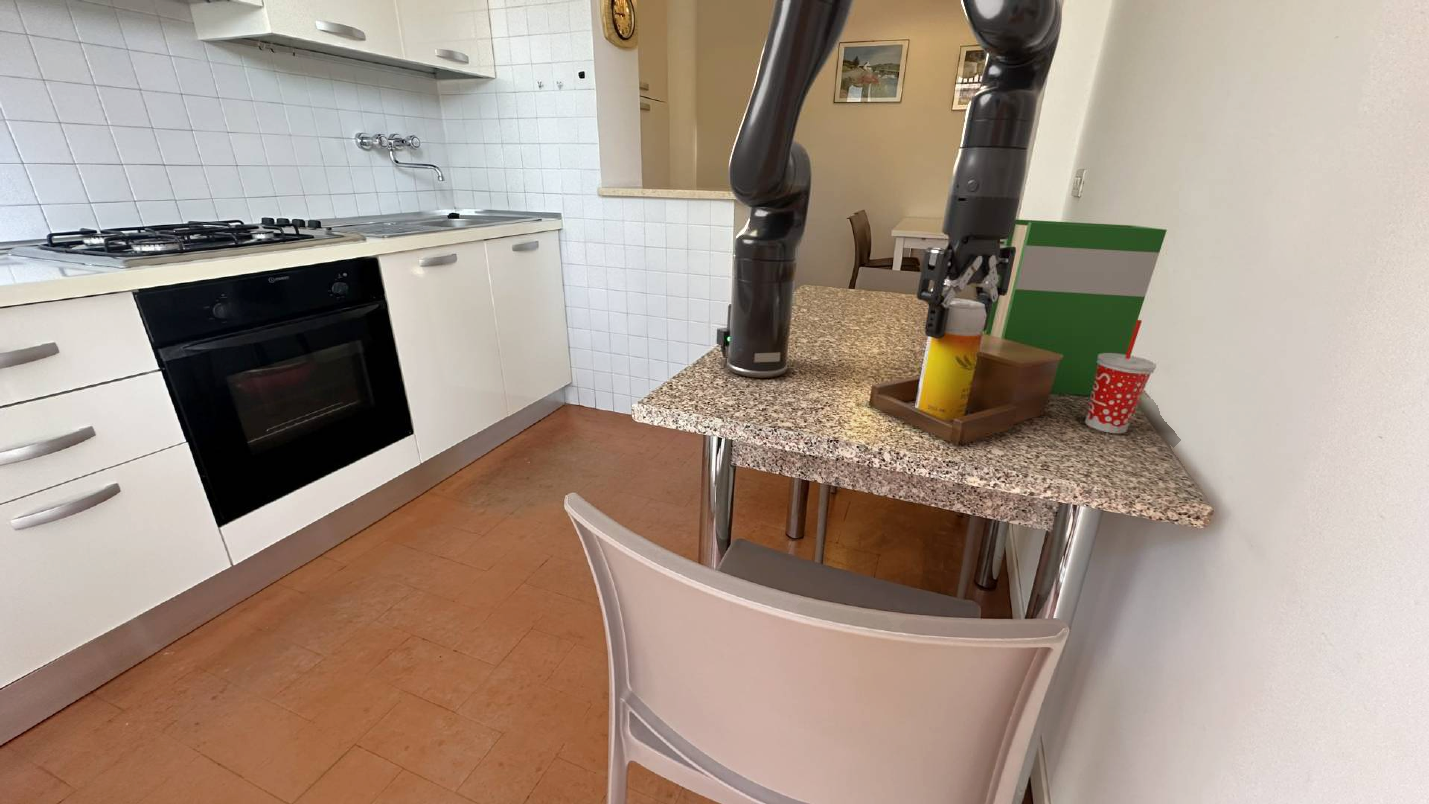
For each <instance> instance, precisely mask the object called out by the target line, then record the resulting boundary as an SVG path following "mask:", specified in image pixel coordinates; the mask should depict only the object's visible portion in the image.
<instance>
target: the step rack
mask: <svg viewBox="0 0 1429 804" xmlns="http://www.w3.org/2000/svg"><path fill="white" fill-rule="evenodd" d="M1062 358H1063V355H1062V354H1058V353H1054V352H1051V351H1047V350H1043V349H1039V348H1036V347H1032V346H1028V345H1025V344H1021V343H1017V342H1013V341H1010V340H1006V339H1002V338H999V337H995V336H991V335H987V334H984V332H983V334H982V339H981V343H980V347H979V352H978V356H977V361H976V365H975V370H974V374H973V379H972V383H971V387H970V392H969V396H968V401H967V405H966V410H965V411H966V412H969V413H970V414H966V415H964V416H963V417H959V418H955V419H954V421H953V423H951V422H948V421H946V420H944V419H941V418H939V417H937V416H934V415H932V414H930V413H927V412H925V411H923V410H920V409H918V408H916V407H915V406H913V405H911V404H908V403H905V402H907V401H912V400H916V398H917V393H918V387H919V382H920V377H921V374H919V375H914V376H908V377H903V378H898V379H894V380H889V381H884V382H879V383H878V382H877V383H874V384H871V389H870V395H869V401H868V406H870V407H872V408H874V409H876V410H879V411H881V412H882V413H885V414H887V415H889V416H892V417H894V418H896V419H898V420H899V421H903V422H905V423H907V424H910V425H911V426H914V427H915V428H917V429H920V430H922V431H925V432H926V433H928V434H931V435H933V436H935V437H937V438H939V439H942V440H943V441H947V442H948V443H951V444H953V445H954V446H957V447H959V446H961V445H965V444H968V443H971V442H975V441H977V440H981V439H985V438H988V437H990V436H993V435H997V434H1000V433H1003V432H1007V431H1010V430H1013V428H1014V424H1015V423H1019V422H1023V421H1026V420H1029V419H1032V418H1036V417H1039V416H1043V415H1045V414H1046V410H1047V406H1048V403H1049V399H1050V396H1051V393H1050V392H1051V389H1052V385H1053V382H1054V378H1055V375H1056V371H1057V367H1058V364H1059V360H1060V359H1062Z"/></svg>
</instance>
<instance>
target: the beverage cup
mask: <svg viewBox="0 0 1429 804" xmlns="http://www.w3.org/2000/svg"><path fill="white" fill-rule="evenodd" d="M1142 321H1143V320H1142V319H1138V320H1137V323H1136V326H1135V329H1134V332H1133V335H1132V338H1131V341H1130V344H1129V347H1128V350H1127V354H1126V355H1124V354H1115V353H1102V354H1099V355H1098V360H1097V363H1098V368H1097V372H1096V377H1095V381H1094V385H1093V390H1092V394H1091V395H1090V399H1089V403H1088V407H1087V412H1086V416H1085V419H1084V423H1085V425H1087V426H1088V427H1089V428H1092V429H1094V430H1097V431H1101V432H1105V433H1110V434H1124V433H1126V432H1127V431H1128V427H1129V426H1130V423H1131V421H1132V418H1133V416H1134V415H1135V411H1136V409H1137V407H1138V405H1139V402H1140V399H1141V398H1142V395H1143V393H1144V390H1145V388H1146V386H1147V384H1148V381H1149V379H1150V376H1151V374H1154V373H1155V370H1156V369H1157V363H1155V362H1154V361H1151V360H1149V359H1145V358H1144V357H1143V358H1142V357H1138V356H1134V355H1132V352H1133V350H1134V346H1135V343H1136V340H1137V337H1138V334H1139V331H1140V328H1141V325H1142Z"/></svg>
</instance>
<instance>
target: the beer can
mask: <svg viewBox="0 0 1429 804" xmlns="http://www.w3.org/2000/svg"><path fill="white" fill-rule="evenodd" d="M947 308H949V313H948V318H947V324H946V329H945V334H944V337H943V338H938V339H936V338H933V337H929V336H927V339H926V345H925V350H924V355H923V362H922V366H921V372H920V375H921V377H920V382H919V387H918V393H917V398H916V399H915V404H914V407H916V408H918V409H920V410H923V411H925V412H927V413H930V414H932V415H934V416H937V417H939V418H941V419H944V420H946V421H948V422H951V423H953V421H954V419H955V418H959V417H963V416H965V413H966V411H967V410H966V405H967V401H968V396H969V392H970V387H971V383H972V379H973V374H974V370H975V365H976V361H977V356H978V352H979V347H980V343H981V339H982V334H983V333H984V331H983V330H984V325H985V321H986V316H987V315H986V311H985V305H984V304H982V303H980V302H976V301H973V300H970V299H965V298H955V297H954V298H953V300H952V301H951V303H950V304H949V306H948V307H947Z"/></svg>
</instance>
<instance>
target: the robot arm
mask: <svg viewBox="0 0 1429 804" xmlns="http://www.w3.org/2000/svg"><path fill="white" fill-rule="evenodd" d="M854 2H855V0H774V2H773V3H774V4H773V10H772V14H771V17H770V22H769V27H768V31H767V35H766V37H765V42H764V46H763V49H762V53H761V56H760V61H759V66H758V69H757V74H756V78H755V82H754V86H753V89H752V92H751V95H750V98H749V102H748V103H747V107H746V110H745V113H744V116H743V119H742V122H741V124H740V127H739V129H738V130H739V131H738V133H737V136H736V139H735V142H734V145H733V148H732V152H731V155H730V159H729V164H728V183H729V187H730V190H731V193H732V195H733V196H734V198H735V199H736V200H737V201H738V203H740V204H742V205H743V206H745V207H748V208H750V211H749V217H748V220H747V223H746V224H745V226H744V228H743V229H742V230H741V231H740V232H739V233H737V235H736V236H735V239H734V246H733V262H732V281H731V283H732V284H731V299H730V303H729V304H728V306H727V317H726V318H727V320H726V321H727V322H726V327H719V328H716V340H715V341H716V342H715V343H716V344H717V345H718V346H720V350H721V354H722V358H723V359H724V363H725V364H726V368H727V370H729V371H730V372H732V373H734V374H736V375H739V376H743V377H749V378H755V379H757V378H758V379H764V378H765V379H767V378H777V377H780V376H783V375H785V374H786V373H787V371H788V356H789V347H790V335H791V325H792V315H793V314H792V313H793V305H794V295H795V286H796V285H795V283H796V273H797V263H798V252H799V247H800V245H801V243H802V241H803V238H804V235H805V233H806V227H807V220H808V213H809V207H810V198H811V190H812V179H813V177H812V176H813V170H812V162H811V158H810V155H809V153H808V151H807V150H806V148H805V146H803V145H802V144H801V143H800V142H798V141H796V140H795V136H796V131H797V127H798V124H799V119H800V116H801V113H802V110H803V106H804V104H805V102H806V99H807V97H808V95H809V92H810V91H811V89H812V87H813V85H814V84H815V82H816V81H817V78H818V77H819V76H820V74H821V73H822V71H823V69H824V67H825V66H826V64H827V63H828V62H829V60H830V58H831V57H832V55H833V54H834V52H835V50H836V49H837V47H838V45H839V43H840V41H841V39H842V38H843V35H844V32H845V30H846V28H847V25H848V22H849V19H850V15H851V12H852V9H853V7H854ZM960 2H961V6H962V9H963V11H964V15H965V17H966V20H967V23H968V25H969V28H970V30H971V32H972V34H973V37H974V38H975V40H976V42H977V43H978V45H979V47H980V48H981V49H982V50H983V51H984V52H985V53H986V57H985V63H984V67H983V72H982V76H981V80H980V84H979V88H978V91H976V92H975V93H974V94H973V95H972V96H971V97H970V98H969V101H968V104H967V106H966V110H965V114H964V119H963V125H962V131H961V135H960V140H959V148H958V152H957V155H956V158H955V162H954V165H953V168H952V173H951V177H950V182H949V189H948V194H947V199H946V205H945V210H944V215H943V222H942V227H941V232H942V233H943V234H944V235H946V236H947V237H948V240H947V243H946V245H945V246H944V248H943V247H934V246H928V247H927V248H926V249H925V252H924V257H923V262H922V267H921V273H920V277H919V283H918V288H917V292H916V299H918V300H920V301H923V302H926V304H928V308H927V309H928V310H927V313H926V319H925V325H924V332H925V335H926V336H927V337H928V336H929V337H933V338H936V339H938V338H943V337H944V334H945V329H946V324H947V318H948V313H949V308H947V307H948V306H949V304H950V303H951V301H952V300H953V298H955V296H956V295H957V294H958V293H961V292H963V290H964V289H965V287H966V286H970V287H971V289H972V292H973V296H974V298H975V299H973V300H972V301H976V302H980V303H982V304H984V305H985V311H986V315H987V316H986V321H985V325H984V330H983V332H984V331H985V330H986V329H987V326H988V322H989V317H990V313H991V309H992V304H993V302H995V301H996V300H997V298H998V296H1000V295H1002V296H1005V295H1006V294H1007V291H1008V287H1009V282H1010V277H1011V273H1012V268H1013V263H1014V258H1015V253H1016V248H1015V247H1012V246H1004V244H1001V240H1005V239H1007V238H1009V237H1011V235H1012V232H1013V228H1014V223H1015V219H1016V218H1017V213H1018V210H1019V205H1020V200H1021V197H1022V192H1023V187H1024V184H1025V183H1024V182H1025V179H1026V173H1027V162H1028V155H1029V148H1030V144H1031V141H1032V135H1033V131H1034V127H1035V122H1036V116H1037V111H1038V110H1037V109H1038V103H1039V100H1040V98H1041V94H1042V92H1043V89H1044V86H1045V84H1046V81H1047V78H1048V75H1049V72H1050V70H1051V66H1052V63H1053V60H1054V58H1055V54H1056V51H1057V48H1058V44H1059V39H1060V35H1061V29H1062V21H1063V13H1062V12H1063V11H1062V7H1061V3H1060V1H1059V0H960ZM998 275H1000V276H1001V282H1000V285H997V283H998V282H999V279H998ZM931 281H932V282H933V285H932V287H931V290H929V287H930V284H931V283H930V282H931ZM944 290H946V291H945V293H944V294H943V292H944Z"/></svg>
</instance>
